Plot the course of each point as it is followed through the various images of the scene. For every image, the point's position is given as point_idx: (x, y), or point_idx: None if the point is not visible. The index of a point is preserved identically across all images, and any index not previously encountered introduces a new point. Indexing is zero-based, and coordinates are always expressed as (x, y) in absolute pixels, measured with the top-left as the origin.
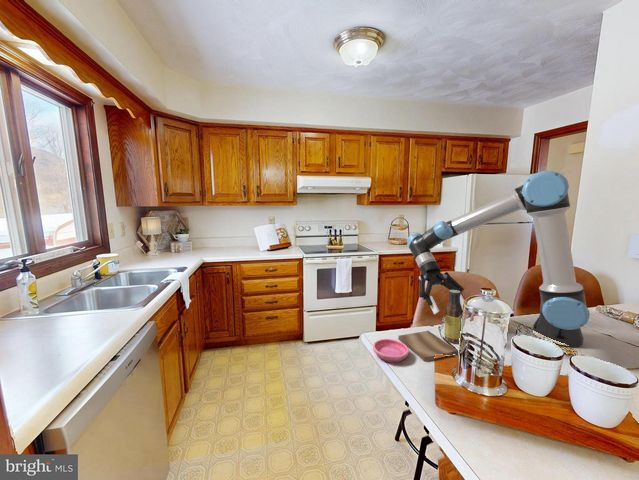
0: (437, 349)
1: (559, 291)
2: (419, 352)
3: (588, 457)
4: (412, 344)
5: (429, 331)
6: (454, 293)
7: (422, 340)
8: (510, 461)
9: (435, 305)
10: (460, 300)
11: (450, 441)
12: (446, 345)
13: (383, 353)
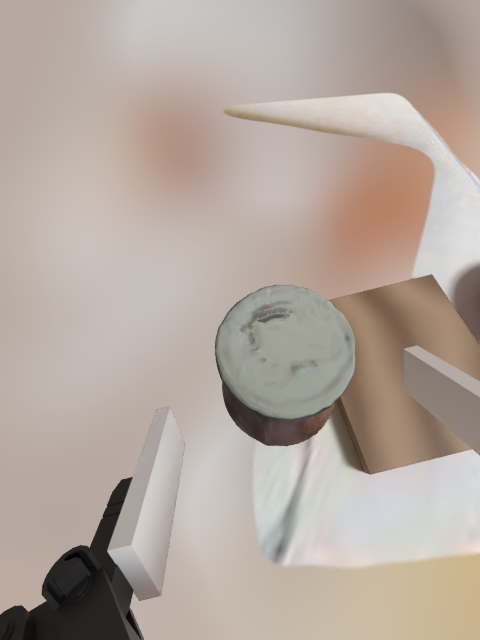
0: (375, 314)
1: None
2: (445, 299)
3: (251, 115)
4: (468, 351)
5: (366, 462)
6: (313, 296)
7: None
8: (349, 104)
9: (451, 369)
10: (164, 481)
11: (420, 116)
12: None
13: None
